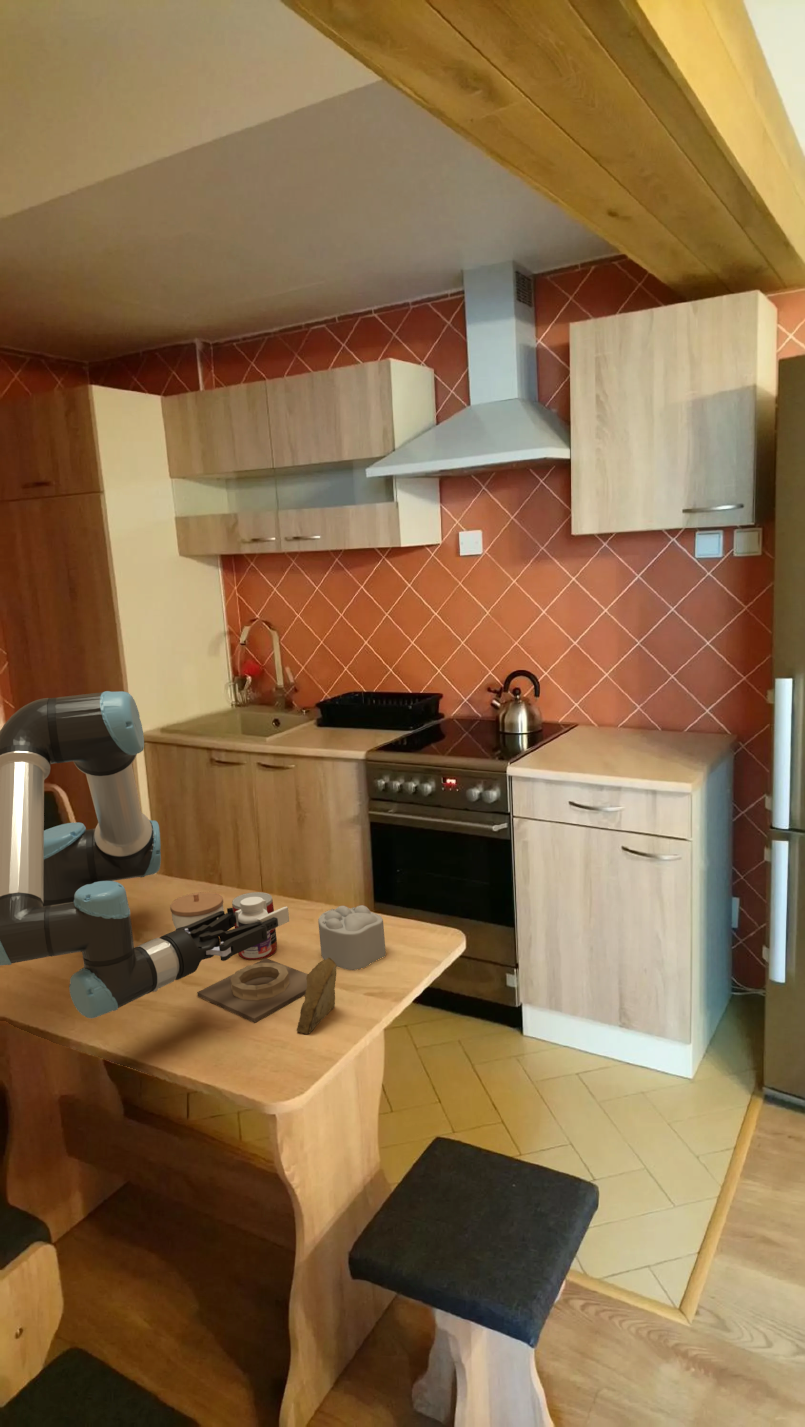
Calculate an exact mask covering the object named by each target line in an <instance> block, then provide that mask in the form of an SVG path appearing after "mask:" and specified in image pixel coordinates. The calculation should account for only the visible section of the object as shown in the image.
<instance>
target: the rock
mask: <svg viewBox="0 0 805 1427" xmlns="http://www.w3.org/2000/svg"><path fill="white" fill-rule="evenodd" d="M307 974H308V975H307V977H306V980H307V988H306V993H305V995H304V1001H303V1002H302V1006H301V1008H300V1013H299V1014H300V1015H299V1016H300V1017H299V1020H298V1023H297V1028H296V1032H297V1033H303V1034H304V1035H305V1034H306V1035H308V1034H310V1033H311V1032H312V1031H313V1030H314V1029H315V1028H316V1027H317V1026H318V1025H319V1023H320V1022H321V1021H322V1020H324V1019H325V1017H326V1016H328V1014H329V1013H330V1011H331V1010H332V1009H334V1007H335V1004H336V980H337V966H336V963H335V962H334V961H333V960H332V959H331V958H329V957H328V958H327V959H326V960H325V959H322V960H321V961H319V962H318V963H317V964H316V965H315V966H314V967H312V969H311V971H310V972H309V973H307Z"/></svg>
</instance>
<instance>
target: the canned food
mask: <svg viewBox="0 0 805 1427" xmlns="http://www.w3.org/2000/svg"><path fill="white" fill-rule="evenodd" d="M249 897H261V898H262V899H263V900H266V906H267V912H268V914H269V913H271V912H274V911H275V910H274V902H273V896H272V894H269V893H267V892H262V891H261V892H260V891H259V892H258V891H257V892H247V893H244V894H240V895H237V896H236V897H234V898H233V900H232V902H231V903H232V904H231V905H232V906H231V908H233V912H235V911H238V910H240V909H241V906H240V902H241V900H243V899H245V898H249ZM238 927H239V926H237V925H236V923H235V926H234V929H235V928H238ZM276 928H277V927H276ZM276 928H274V929H272V930H270V936H271V948H272V949H271V952H270V953H269V954H267V955H265V956H263V957H259V958H247V957H244V956H243V955H242V953H241V952H239V953H238V955H239V957H240V958H242V959H244V960H248V961H249V960H253V961H254V960H256V961H257V960H263V959H265V958H269V957H271V956H273V955H274V954H275V953H277V952H276V951H277V948H278V940H277V938H278V937H277V931H276V930H277V929H276Z"/></svg>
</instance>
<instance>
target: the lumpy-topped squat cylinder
mask: <svg viewBox="0 0 805 1427" xmlns="http://www.w3.org/2000/svg"><path fill="white" fill-rule="evenodd" d="M317 923H318V935H319V944H320V954H321V957H322V960H324V959H325V960H326V959H327V958H328V957H329V958H331V959H332V960H333V961H334V962H335V963H336V968H339V969H340V968H341V969H344V970H349V971H356V970H357V969H359V970H362V969H361V968H363V969H365V968H367V967H368V966H370V965H371V964H372V962H373V963H375V962H377V961H379V960H378V959H380V958H382V957H383V958H385V957H386V955H385V954H387V952H386V951H387V950H386V941H385V940H386V938H385V927H384V919H383V917H382V916H381V915H379V914H378V913H376V912H375V913H374V912H373V911H371V910H370V909H369V908H368V907H367V906H366V905H362V904H361V905H360V904H359V905H357V906H355V907H351V908H350V907H348V906H346V905H339V906H338V907H336V908H334V909H333V908H332V909H329V910H327V911H324V912H323V913H321V914H320V915H319V917H318V921H317ZM384 956H385V957H384ZM383 958H382V959H383ZM376 960H377V961H376ZM380 960H381V959H380ZM374 961H375V962H374ZM370 963H371V964H370ZM369 964H370V965H369ZM366 966H367V967H366ZM364 967H365V968H364ZM357 971H358V970H357Z"/></svg>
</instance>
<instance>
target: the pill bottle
mask: <svg viewBox="0 0 805 1427" xmlns="http://www.w3.org/2000/svg"><path fill="white" fill-rule="evenodd" d="M240 906H241V911H242V912H241V913H240V914H239V915H238V925H239V927H241V926H245V925H248V924H251V923H255V922H257V919H258V918H260V917H262V916H265V915H267V914H268V912H267V911H266V910H265V909H263V907H264V904H263V899H262V898H261V897H249V898H245V899H243V900H241V902H240ZM271 949H272V948H271V936H270V931H268V932H267V940H266V941H264V942H262V943H259V944H257V945H255V946H253V947H250V948H248V949H246V950H244V951H242V952H241V953H242V955H243V956H244V957H247V958H259V957H263V956H265V955H267V954H269V953H270V952H271Z"/></svg>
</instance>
